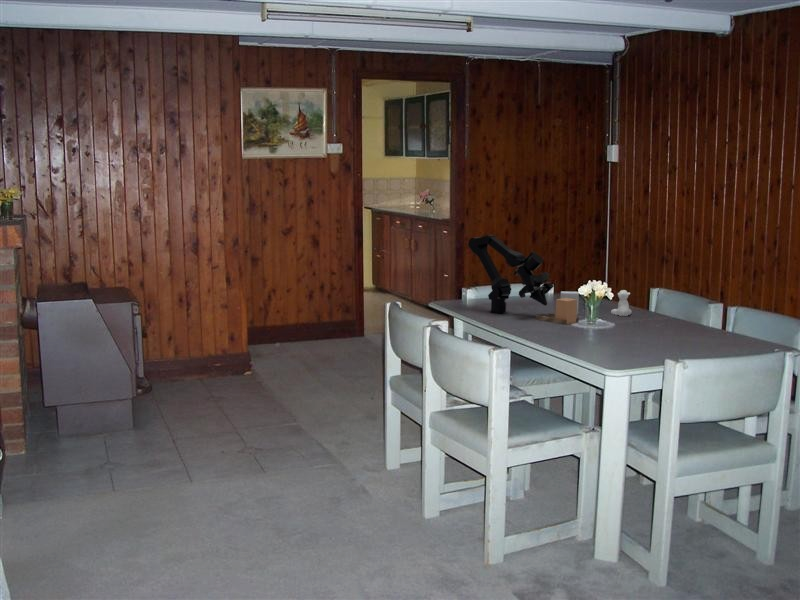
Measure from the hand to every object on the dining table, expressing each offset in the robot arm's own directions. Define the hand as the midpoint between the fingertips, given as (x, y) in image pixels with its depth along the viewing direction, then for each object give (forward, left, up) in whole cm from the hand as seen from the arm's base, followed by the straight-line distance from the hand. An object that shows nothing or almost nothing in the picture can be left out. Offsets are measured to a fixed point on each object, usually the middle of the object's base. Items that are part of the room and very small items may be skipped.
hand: (546, 304), depth 388 cm
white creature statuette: (+32, +27, -7) cm, 42 cm away
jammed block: (+9, -6, -6) cm, 13 cm away
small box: (+8, +20, -7) cm, 23 cm away
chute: (+6, -4, -7) cm, 10 cm away
